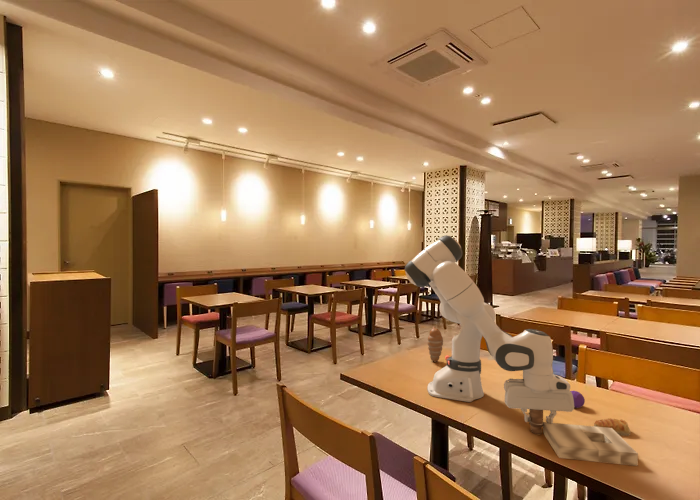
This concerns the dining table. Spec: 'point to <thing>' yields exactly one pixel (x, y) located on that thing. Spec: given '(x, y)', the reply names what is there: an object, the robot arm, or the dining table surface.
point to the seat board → (589, 444)
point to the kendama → (578, 399)
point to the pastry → (614, 425)
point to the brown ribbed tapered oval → (435, 344)
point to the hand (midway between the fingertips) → (538, 422)
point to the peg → (536, 421)
